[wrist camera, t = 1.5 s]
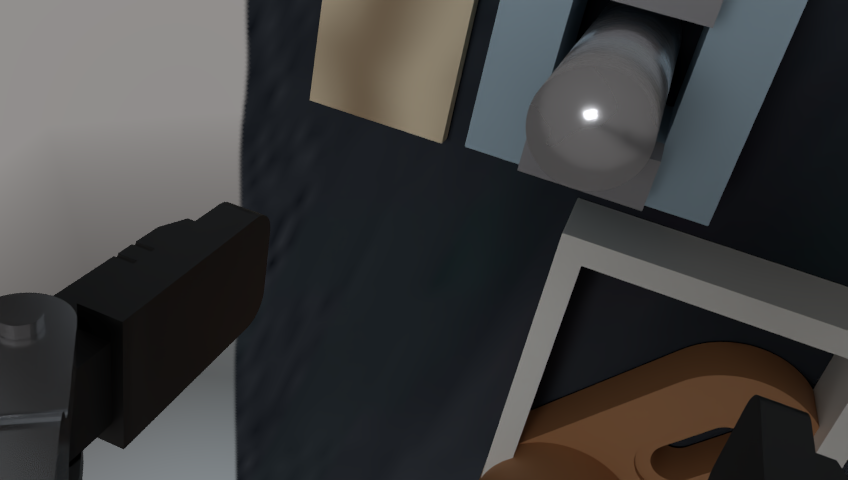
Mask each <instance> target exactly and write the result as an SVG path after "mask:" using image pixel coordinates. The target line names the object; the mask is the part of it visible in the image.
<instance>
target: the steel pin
mask: <svg viewBox="0 0 848 480" xmlns="http://www.w3.org/2000/svg"><path fill="white" fill-rule="evenodd" d="M681 41H682V25H681V21H680V19H678V18H674V17H670V16H667V15H663V14H660V13H656V12H652V11H649V10H645V9H641V8H638V7H634V6H630V5H627V4H623V3H620V2H616V1H612V2H611V3H610V4H608V5H607V6H606V8H605V9H604V10H603V11H602V12H601V13H600V15H599V16H598V17H597V18H596V20H595V21H594V22H593V23H592V25H591V26H590V27H589V28H588V30H587V31H586V32H585V33H584V35H583V36H582V37H581V38H580V40H579V41H578V42H577V43H576V44H575V46H574V47H573V48H572V49H571V51H570V52H569V53H568V54H567V56H566V57H565V58H564V59H563V61H562V62H561V63H560V64H559V66H558V67H557V68H556V69H555V70H554V72H553V73H552V74H551V75H550V77H549V78H548V79H547V80H546V82H545V83H544V84H543V85H542V87H541V88H540V89H539V90H538V92H537V93H536V95H535V96H534V98H533V100H532V102H531V104H530V106H529V109H528V112H527V117H526V127H525V128H526V138H527V143H528V146H529V149H530V152H531V154H532V156H533V158H534V159H535V161H536V162H537V164H538V165H539V166H540V167H541V169H542V170H543V171H544V172H545V173H546V174H547V175H548V176H550V177H551V178H553V179H554V180H555V181H557V182H559V183H561V184H563V185H565V186H567V187H570V188H573V189H577V190H583V191H602V190H607V189H612V188H614V187H617V186H620V185H622V184H624V183H626V182H627V181H629V180H630V179H632V178H633V177H634V176H635V175H637V174H638V173H639V172H640V171H641V170H642V168H643V167H644V166H645V165H646V163H647V162H648V160H649V159H650V156H651V154H652V152H653V150H654V146H655V143H656V139H657V135H658V131H659V127H660V124H661V120H662V116H663V112H664V108H665V104H666V100H667V96H668V92H669V89H670V85H671V81H672V77H673V73H674V69H675V65H676V61H677V57H678V54H679V50H680V46H681Z"/></svg>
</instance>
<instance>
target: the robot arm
mask: <svg viewBox="0 0 848 480" xmlns="http://www.w3.org/2000/svg"><path fill="white" fill-rule="evenodd" d="M269 236H270V222H269V219H268V217H267V216H265V215H262V214H259V213H256V212H254V211H251V210H248V209H245V208H242V207H240V206H237V205H234V204H231V203H228V202H224V203H221V204H219V205H218V206H216V207H215V208H214V209H212V210H211V211H209V212H208V213H206V214H205V215H203V216H202V217H201V218H199V219H198V220H196V221H193V220H190V219H185V220H181V221H178V222H174V223H171V224H167V225H164V226H160V227H158V228H156V229H155V230H153V231H152V232H150V233H148V234H147V235H145V236H144V237H142V238H141V239H139V240H138V241H136V244H135V245H130V246H129V247H127V248H126V249H124V250H123V251H121V252H120V253H118V256H117V257H112V258H110V259H109V260H107V261H106V262H105V263H103V264H101V265H100V266H98V267H97V268H95V269H94V270H92V271H91V272H89V273H88V274H86V275H84V276H83V277H81V278H80V279H78V280H77V281H75V282H74V283H72V284H71V285H69V286H68V287H66V288H65V289H63V290H62V291H60V292H59V293H57V294H55V295H54V296H51V295H47V294H40V293H16V294H9V295H5V296H1V297H0V480H82V476H83V450H84V449H85V448H86V447H87V446H88V445H89V444H90V443H91V442H92V441H93V440H94V439H96V438H97V437H98V438H100V439H102V440H105V441H107V442H109V443H111V444H113V445H116V446H118V447H120V448H122V449H124V448H125V447H126V446H127V445H128V444H129V443H131V441H133V439H135V438H136V437H137V436H138V435H139V434H140V433H141V431H143V430H144V429H145V427H147V426H148V425H149V424H150V423H151V421H153V420H154V419H155V418H156V417H157V416H158V415H159V414H160V413H161V412H162V411H163V410H164V409H165V408H166V407H167V406H168V405H169V404H170V403H171V402H172V401H173V400H174V399H175V398H176V397H177V396H178V395H179V394H180V393H181V392H182V391H183V390H184V389H185V388H186V387H187V386H188V385H189V384H190V383H191V382H192V381H193V380H194V379H195V378H196V377H197V376H198V375H200V374H201V372H202V371H204V369H206V368H207V367H208V366H209V365H210V364H211V363H212V362H213V361H214V360H215V359H216V358H217V357H218V356H219V355H220V354H221V353H222V352H223V351H224V350H225V349H226V348H227V347H228V346H229V345H230V344H231V343H232V342H233V341H234V340H235V339H236V338H237V337H238V336H239V335H240V334H241V333H242V332H243V331H244V330H245V329H246V328H247V327H248V326H249V325H250V324H251V322H252V321H253V319H254V318H255V316H256V314H257V312H258V310H259V307H260V305H261V301H262V298H263V293H264V284H265V275H266V265H267V255H268V246H269ZM708 480H848V477H847V475H846V474H845V472H844V471H843V469H842V468H841V466H840V465H839V463H838V461H837V460H834V459H832V458H829V457H826V456H824V455H821V454H818V453H816V451H815V444H814V437H813V430H812V423H811V418H810V415H809V414H808V413H807V412H804V411H801V410H798V409H795V408H793V407H790V406H787V405H784V404H782V403H779V402H776V401H773V400H771V399H768V398H765V397H762V396H759V395H754V396H753V397H752V398H751V399H750V400H749V401H748V403H747V405H746V406H745V408H744V410H743V412H742V414H741V416H740V418H739V419H738V421H737V423H736V425H735V427H734V429H733V431H732V432H731V434H730V436H729V438H728V440H727V442H726V444H725V446H724V447H723V449H722V451H721V453H720V455H719V457H718V459H717V460H716V462H715V464H714V466H713V468H712V470H711V473H710V475H709V478H708Z"/></svg>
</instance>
